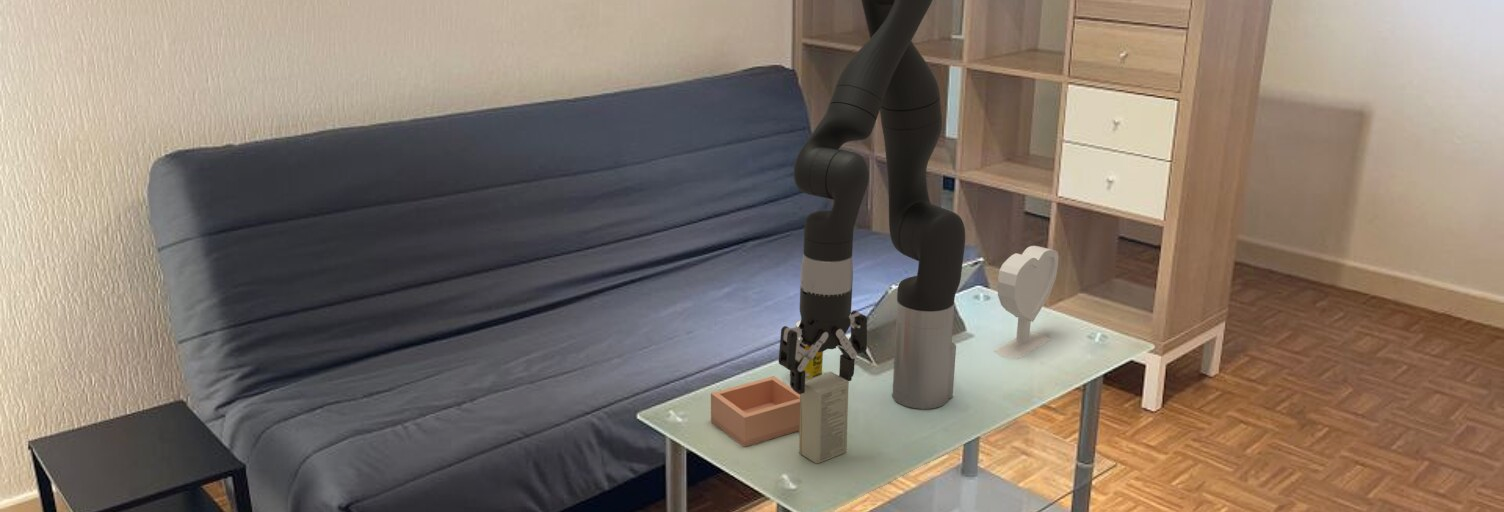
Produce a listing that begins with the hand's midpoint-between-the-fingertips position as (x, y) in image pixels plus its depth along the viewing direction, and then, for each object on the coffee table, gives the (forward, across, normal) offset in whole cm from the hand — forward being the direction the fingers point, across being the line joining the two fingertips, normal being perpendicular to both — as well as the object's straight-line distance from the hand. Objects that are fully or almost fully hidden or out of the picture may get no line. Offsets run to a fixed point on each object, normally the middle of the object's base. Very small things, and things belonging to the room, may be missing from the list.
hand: (821, 385), depth 185 cm
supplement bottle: (+11, -13, -23) cm, 29 cm away
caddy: (+11, +3, -13) cm, 17 cm away
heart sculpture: (+10, -55, -14) cm, 58 cm away
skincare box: (+12, -1, 0) cm, 12 cm away
